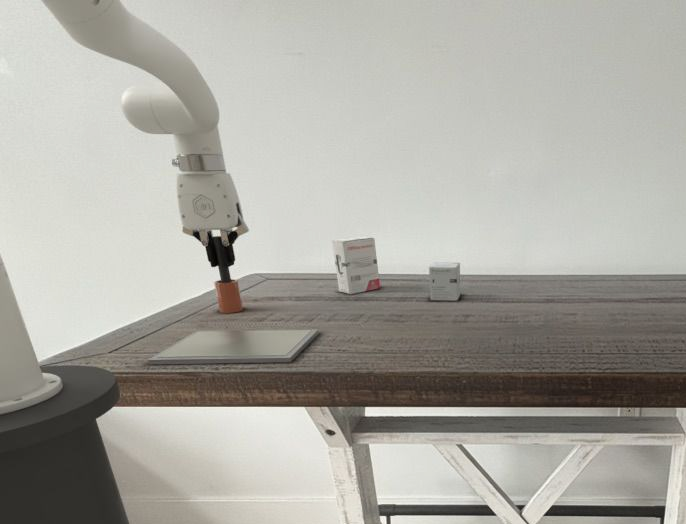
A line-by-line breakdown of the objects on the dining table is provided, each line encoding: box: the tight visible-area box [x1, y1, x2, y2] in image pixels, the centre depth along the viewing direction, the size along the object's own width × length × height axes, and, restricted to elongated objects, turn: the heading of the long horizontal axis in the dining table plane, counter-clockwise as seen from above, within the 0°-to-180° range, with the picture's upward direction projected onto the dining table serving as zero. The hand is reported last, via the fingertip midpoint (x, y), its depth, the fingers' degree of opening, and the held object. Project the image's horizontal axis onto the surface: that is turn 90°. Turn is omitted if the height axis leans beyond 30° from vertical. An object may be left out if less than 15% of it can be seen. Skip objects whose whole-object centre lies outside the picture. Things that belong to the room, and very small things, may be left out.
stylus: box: [212, 235, 232, 283], centre depth 110 cm, size 2×2×11 cm
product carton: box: [428, 261, 461, 302], centre depth 121 cm, size 6×6×7 cm
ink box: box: [331, 236, 381, 295], centre depth 128 cm, size 9×5×12 cm, turn 139°
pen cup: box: [213, 278, 244, 314], centre depth 112 cm, size 4×4×6 cm
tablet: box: [147, 328, 320, 365], centre depth 90 cm, size 15×21×1 cm
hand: (222, 265), depth 110 cm, fingers closed on stylus, 2 cm apart
